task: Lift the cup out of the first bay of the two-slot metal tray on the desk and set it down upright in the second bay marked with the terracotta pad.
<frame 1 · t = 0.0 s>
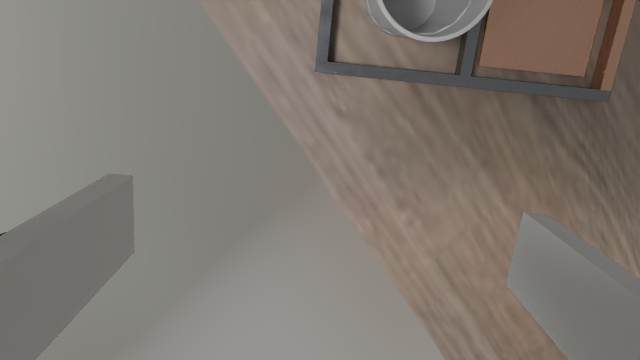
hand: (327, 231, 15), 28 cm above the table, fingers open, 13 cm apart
two-slot metal tray: (472, 6, 39), on the table
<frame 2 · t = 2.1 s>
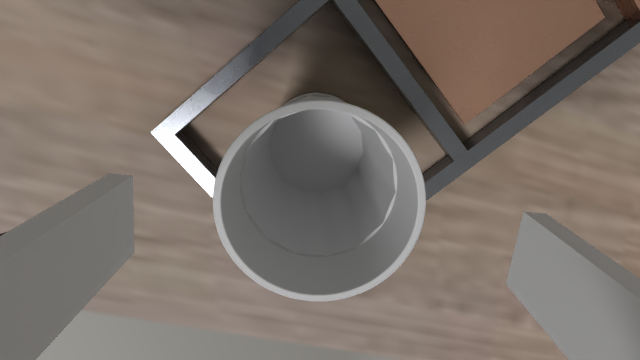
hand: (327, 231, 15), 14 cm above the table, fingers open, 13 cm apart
two-slot metal tray: (398, 76, 27), on the table
cup: (316, 142, 28), resting in two-slot metal tray
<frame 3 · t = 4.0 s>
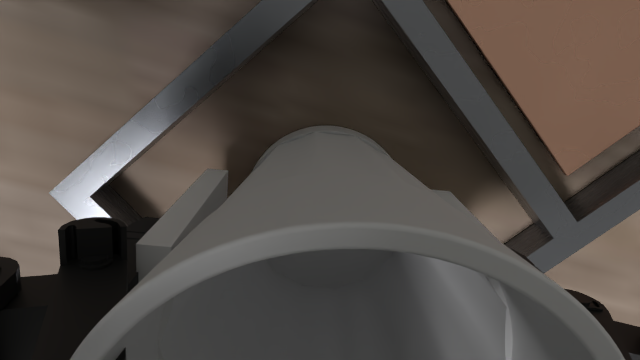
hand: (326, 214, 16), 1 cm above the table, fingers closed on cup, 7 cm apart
two-slot metal tray: (461, 99, 16), on the table
cup: (325, 203, 17), resting in two-slot metal tray, touching gripper
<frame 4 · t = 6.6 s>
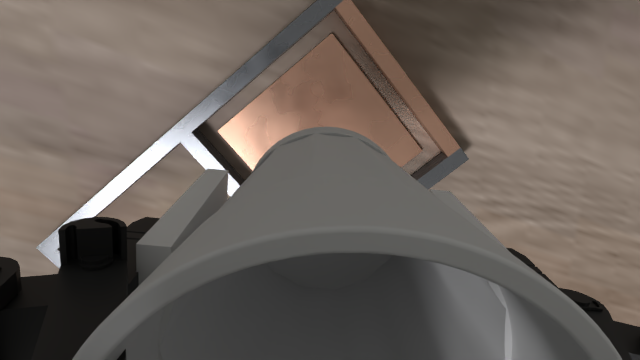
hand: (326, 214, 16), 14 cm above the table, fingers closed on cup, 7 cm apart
two-slot metal tray: (250, 197, 31), on the table
cup: (325, 204, 17), point 13 cm above the table, touching gripper
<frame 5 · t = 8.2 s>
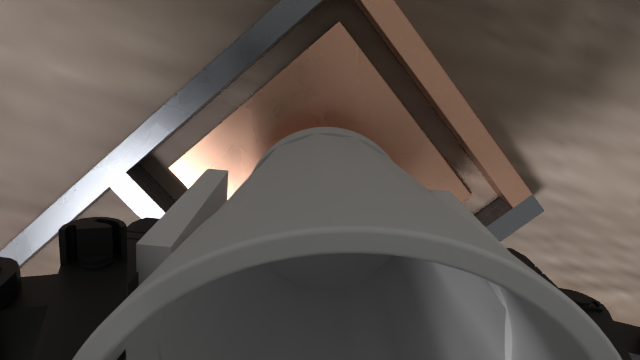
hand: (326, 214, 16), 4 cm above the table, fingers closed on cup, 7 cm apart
two-slot metal tray: (220, 261, 21), on the table
cup: (325, 204, 17), point 3 cm above the table, touching gripper
when the fingers open (3 cm above the table, at t = 9.3 s): cup drops 2 cm, resting on two-slot metal tray.
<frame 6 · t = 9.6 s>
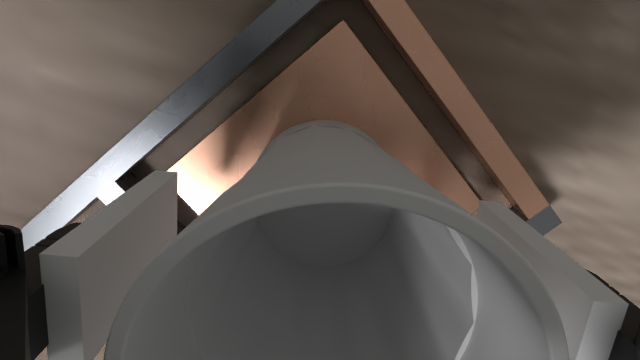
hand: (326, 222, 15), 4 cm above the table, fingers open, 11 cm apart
two-slot metal tray: (216, 274, 20), on the table
cup: (322, 190, 19), resting on two-slot metal tray
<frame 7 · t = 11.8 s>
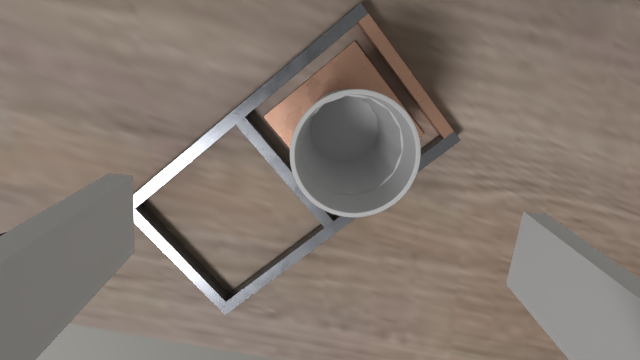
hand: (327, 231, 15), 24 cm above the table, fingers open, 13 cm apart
two-slot metal tray: (287, 170, 39), on the table
cup: (343, 125, 38), resting on two-slot metal tray
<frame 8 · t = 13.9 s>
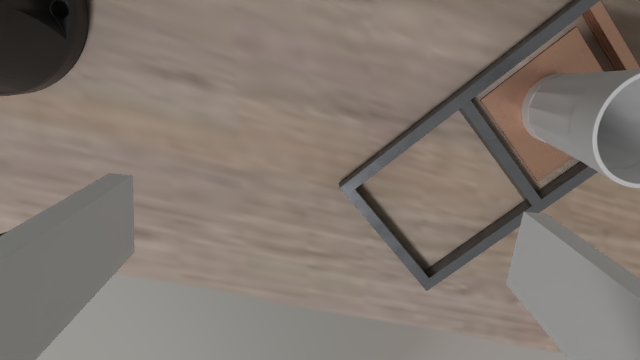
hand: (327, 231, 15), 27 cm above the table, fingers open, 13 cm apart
two-slot metal tray: (495, 151, 41), on the table
cup: (554, 108, 40), resting on two-slot metal tray
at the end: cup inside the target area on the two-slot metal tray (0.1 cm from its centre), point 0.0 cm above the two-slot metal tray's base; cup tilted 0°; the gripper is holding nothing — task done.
